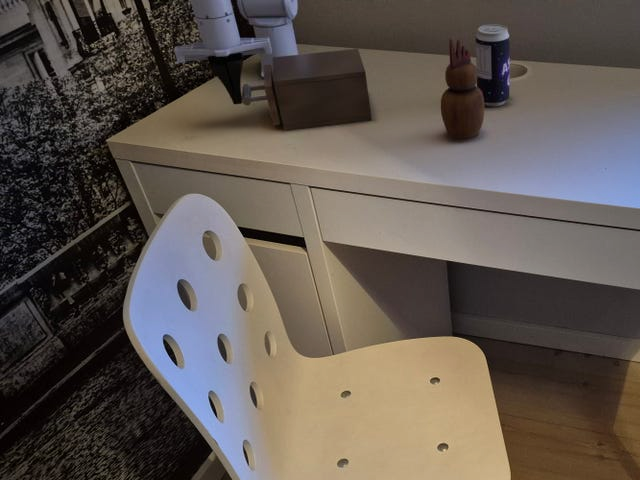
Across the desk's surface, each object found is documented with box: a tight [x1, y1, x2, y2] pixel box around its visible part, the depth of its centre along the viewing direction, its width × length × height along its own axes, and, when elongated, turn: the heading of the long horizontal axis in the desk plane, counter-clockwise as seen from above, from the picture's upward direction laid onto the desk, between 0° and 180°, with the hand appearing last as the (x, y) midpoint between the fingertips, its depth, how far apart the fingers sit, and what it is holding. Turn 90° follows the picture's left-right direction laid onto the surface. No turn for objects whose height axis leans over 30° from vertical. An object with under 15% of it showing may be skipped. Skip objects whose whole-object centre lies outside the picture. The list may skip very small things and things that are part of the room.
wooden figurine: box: [440, 38, 485, 140], centre depth 103 cm, size 7×6×15 cm
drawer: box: [241, 64, 282, 126], centre depth 113 cm, size 18×10×6 cm, turn 104°
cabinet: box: [272, 48, 373, 131], centre depth 113 cm, size 15×12×8 cm
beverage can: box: [475, 23, 511, 107], centre depth 114 cm, size 6×6×12 cm
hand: (238, 102), depth 112 cm, fingers closed
